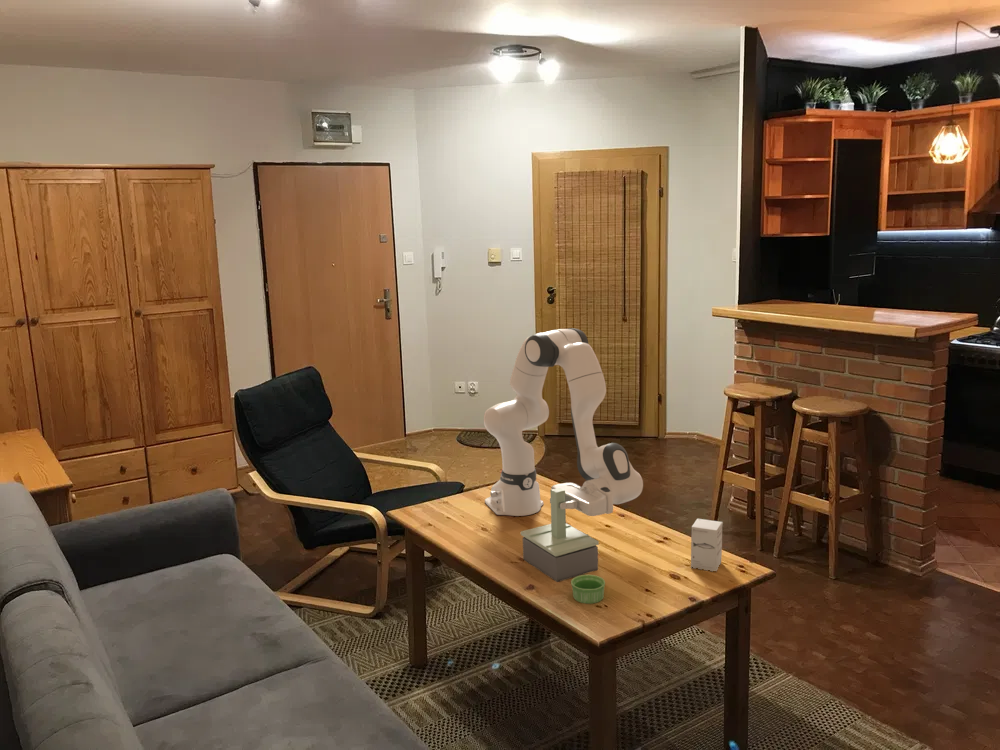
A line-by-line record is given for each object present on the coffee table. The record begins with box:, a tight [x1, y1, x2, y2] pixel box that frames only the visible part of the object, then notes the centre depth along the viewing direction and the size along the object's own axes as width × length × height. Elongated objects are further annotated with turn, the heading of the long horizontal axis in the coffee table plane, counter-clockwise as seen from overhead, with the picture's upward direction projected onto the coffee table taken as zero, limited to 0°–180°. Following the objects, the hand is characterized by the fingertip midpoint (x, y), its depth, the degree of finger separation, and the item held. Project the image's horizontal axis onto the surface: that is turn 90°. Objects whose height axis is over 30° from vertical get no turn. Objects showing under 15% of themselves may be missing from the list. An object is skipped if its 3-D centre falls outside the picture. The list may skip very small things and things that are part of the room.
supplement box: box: [690, 518, 723, 572], centre depth 225 cm, size 7×7×13 cm
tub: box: [522, 536, 599, 583], centre depth 230 cm, size 18×14×7 cm
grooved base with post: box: [520, 488, 600, 557], centre depth 228 cm, size 19×15×15 cm
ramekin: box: [570, 574, 606, 605], centre depth 210 cm, size 9×9×4 cm
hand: (555, 503), depth 227 cm, fingers closed on grooved base with post, 3 cm apart
